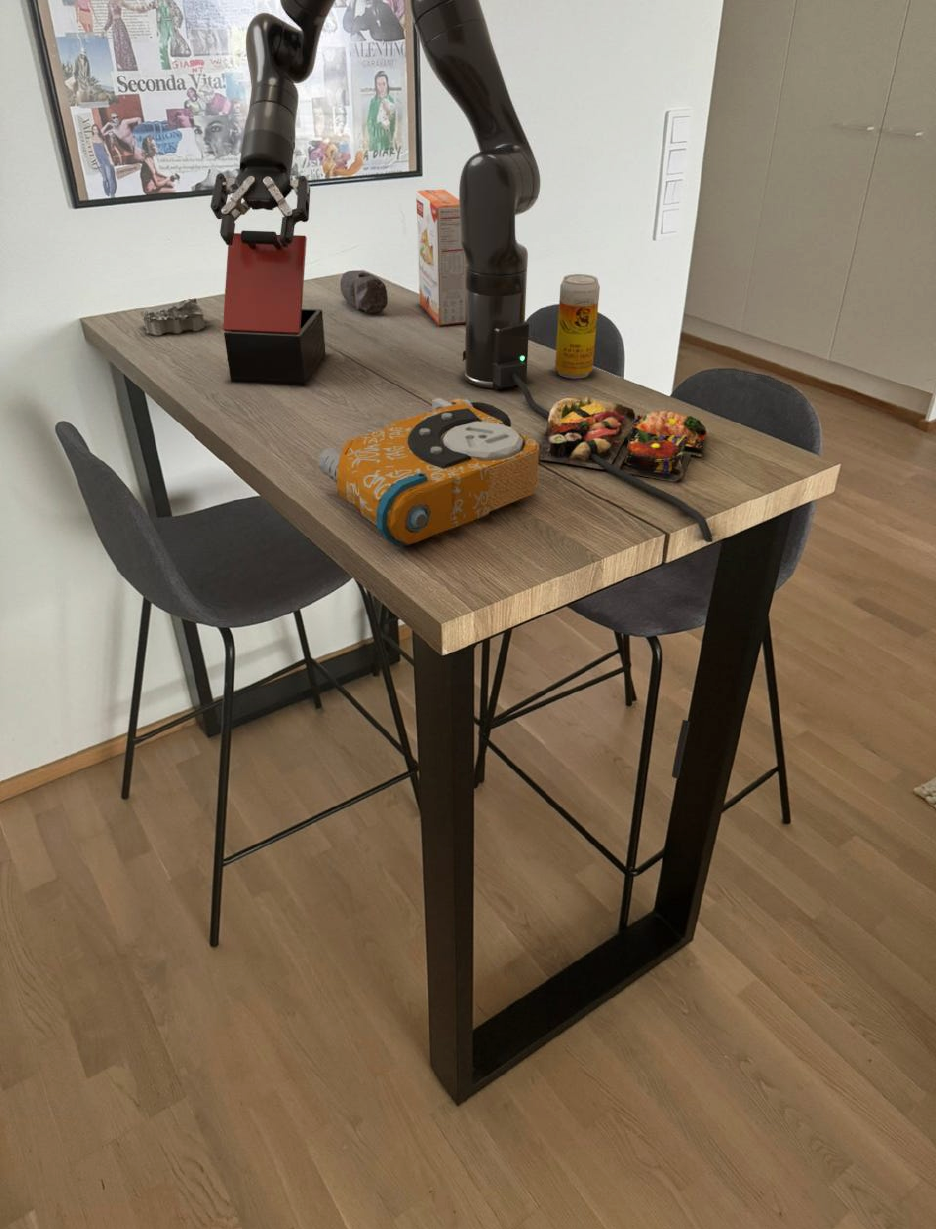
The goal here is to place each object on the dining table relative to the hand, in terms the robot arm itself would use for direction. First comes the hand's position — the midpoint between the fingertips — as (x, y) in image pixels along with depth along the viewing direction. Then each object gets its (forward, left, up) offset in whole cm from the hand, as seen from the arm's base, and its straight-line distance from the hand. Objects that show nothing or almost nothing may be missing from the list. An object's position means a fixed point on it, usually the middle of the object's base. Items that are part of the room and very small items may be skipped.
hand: (255, 243), depth 132 cm
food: (-52, -26, -21) cm, 62 cm away
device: (-47, +2, -21) cm, 51 cm away
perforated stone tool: (+23, -32, -21) cm, 45 cm away
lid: (+1, -2, -6) cm, 7 cm away
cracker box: (+10, -42, -21) cm, 48 cm away
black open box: (+3, -3, -21) cm, 21 cm away
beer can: (-28, -40, -21) cm, 53 cm away
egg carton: (+33, +2, -21) cm, 39 cm away
